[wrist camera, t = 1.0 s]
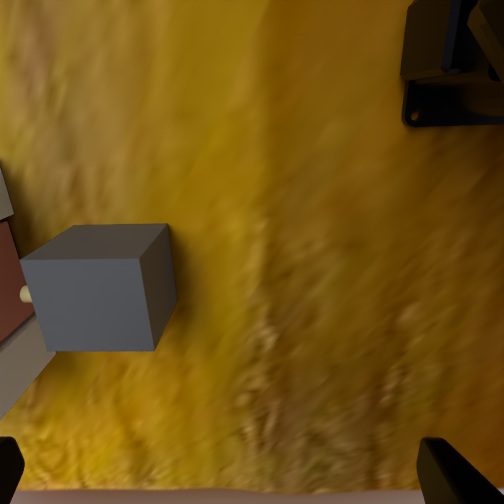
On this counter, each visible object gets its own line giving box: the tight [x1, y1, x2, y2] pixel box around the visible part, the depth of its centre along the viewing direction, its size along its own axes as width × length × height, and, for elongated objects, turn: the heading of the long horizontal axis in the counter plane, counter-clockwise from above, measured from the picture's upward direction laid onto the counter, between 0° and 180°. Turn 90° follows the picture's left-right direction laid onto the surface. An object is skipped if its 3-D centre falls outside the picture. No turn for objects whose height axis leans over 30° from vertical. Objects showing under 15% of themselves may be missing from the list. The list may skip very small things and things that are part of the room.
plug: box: [19, 223, 177, 351], centre depth 18 cm, size 6×5×5 cm
